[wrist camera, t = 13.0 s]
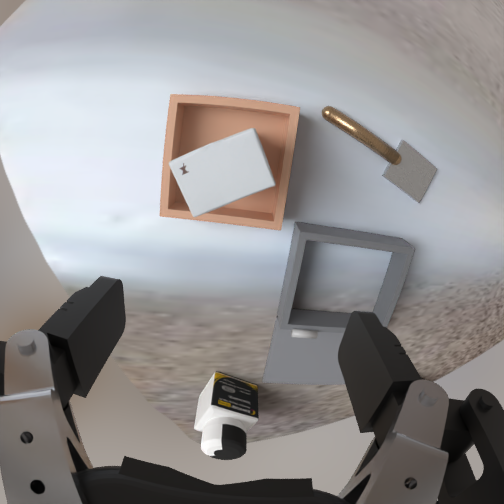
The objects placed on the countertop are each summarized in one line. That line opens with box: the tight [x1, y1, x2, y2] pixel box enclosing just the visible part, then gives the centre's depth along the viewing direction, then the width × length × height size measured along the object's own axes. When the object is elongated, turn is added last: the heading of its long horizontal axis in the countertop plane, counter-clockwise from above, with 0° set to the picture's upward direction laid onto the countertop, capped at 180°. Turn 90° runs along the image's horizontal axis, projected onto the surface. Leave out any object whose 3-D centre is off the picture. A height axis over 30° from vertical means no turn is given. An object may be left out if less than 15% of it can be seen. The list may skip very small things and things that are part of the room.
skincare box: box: [169, 128, 276, 217], centre depth 24 cm, size 6×4×12 cm
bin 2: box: [263, 222, 415, 384], centre depth 35 cm, size 14×24×4 cm, turn 172°
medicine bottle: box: [194, 372, 258, 460], centre depth 37 cm, size 7×7×12 cm
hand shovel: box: [322, 106, 437, 203], centre depth 28 cm, size 16×5×2 cm, turn 63°
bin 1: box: [160, 94, 300, 230], centre depth 28 cm, size 12×12×4 cm
